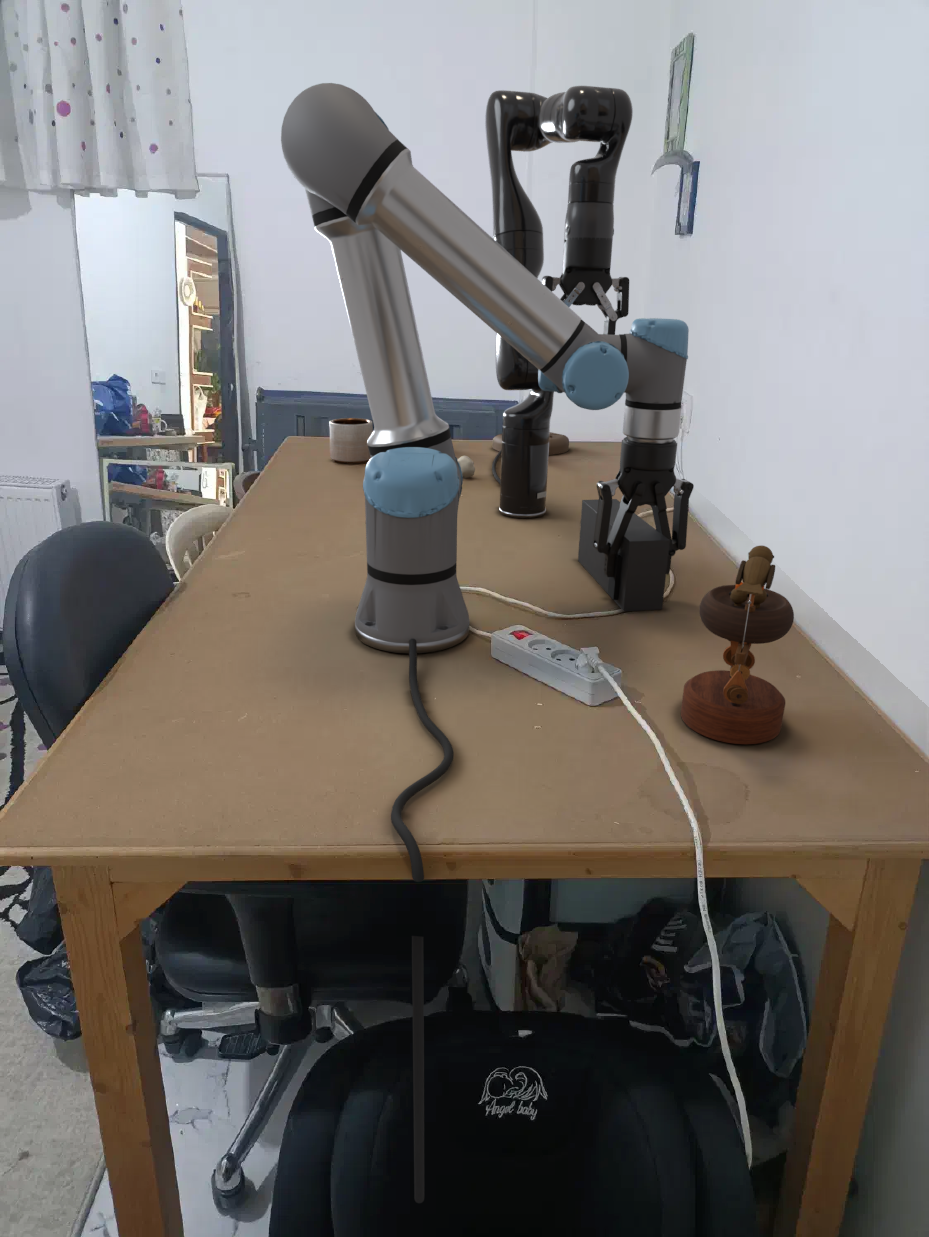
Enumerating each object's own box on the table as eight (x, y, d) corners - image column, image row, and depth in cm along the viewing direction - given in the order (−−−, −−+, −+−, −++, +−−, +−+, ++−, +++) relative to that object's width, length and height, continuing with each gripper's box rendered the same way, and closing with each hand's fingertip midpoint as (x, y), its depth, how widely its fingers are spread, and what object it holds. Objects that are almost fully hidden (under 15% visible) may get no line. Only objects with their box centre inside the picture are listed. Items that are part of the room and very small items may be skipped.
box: (662, 609, 122) (669, 540, 118) (623, 611, 121) (629, 541, 117) (611, 559, 143) (616, 498, 139) (577, 560, 142) (582, 499, 138)
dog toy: (471, 473, 201) (471, 452, 199) (475, 479, 196) (476, 458, 194) (386, 475, 198) (386, 454, 196) (388, 481, 193) (388, 459, 191)
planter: (327, 456, 217) (325, 418, 214) (369, 454, 220) (368, 417, 217) (334, 465, 208) (332, 425, 204) (377, 463, 211) (376, 424, 207)
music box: (801, 756, 85) (818, 567, 77) (689, 756, 86) (695, 570, 79) (768, 687, 99) (780, 521, 91) (672, 688, 100) (676, 525, 93)
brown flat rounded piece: (498, 464, 212) (499, 447, 210) (490, 443, 238) (490, 428, 236) (581, 464, 213) (583, 447, 211) (564, 443, 239) (565, 428, 237)
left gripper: (703, 432, 121) (684, 584, 130) (575, 434, 118) (565, 589, 127) (726, 442, 114) (705, 602, 123) (591, 444, 111) (579, 607, 120)
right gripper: (624, 238, 136) (615, 343, 142) (538, 236, 134) (533, 343, 140) (640, 236, 129) (630, 347, 135) (550, 234, 127) (544, 347, 133)
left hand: (634, 595), depth 125 cm, fingers closed on box, 6 cm apart
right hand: (581, 345), depth 138 cm, fingers open, 8 cm apart
